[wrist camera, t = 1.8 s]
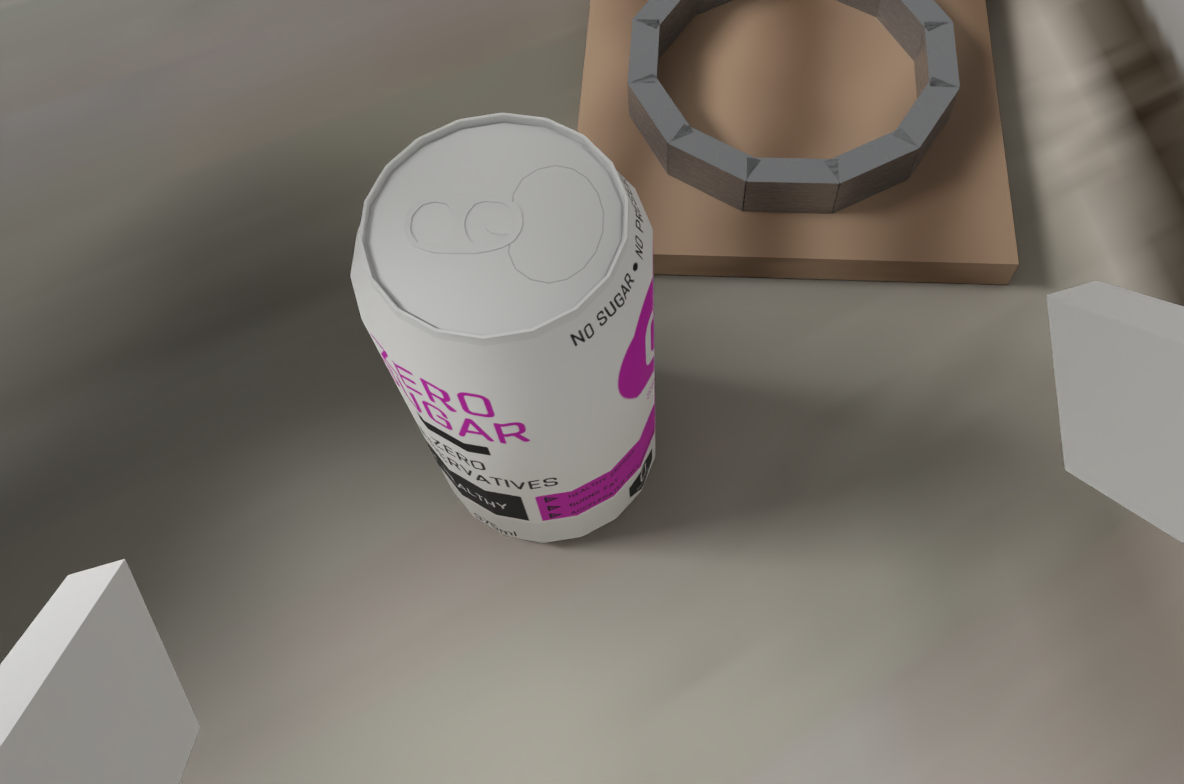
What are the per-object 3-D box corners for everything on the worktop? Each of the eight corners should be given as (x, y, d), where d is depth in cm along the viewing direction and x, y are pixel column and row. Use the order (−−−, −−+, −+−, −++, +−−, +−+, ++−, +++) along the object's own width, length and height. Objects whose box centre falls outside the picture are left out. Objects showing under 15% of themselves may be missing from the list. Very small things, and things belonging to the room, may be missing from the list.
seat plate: (568, 271, 43) (565, 251, 42) (598, -35, 51) (596, -60, 49) (1007, 284, 41) (1018, 264, 40) (969, -33, 49) (977, -59, 48)
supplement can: (655, 352, 41) (652, 91, 28) (654, 550, 37) (650, 361, 24) (456, 352, 42) (358, 97, 28) (437, 547, 38) (313, 362, 25)
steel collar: (614, 208, 42) (611, 162, 40) (633, -31, 48) (631, -86, 46) (957, 216, 41) (977, 170, 38) (932, -30, 47) (949, -86, 44)
